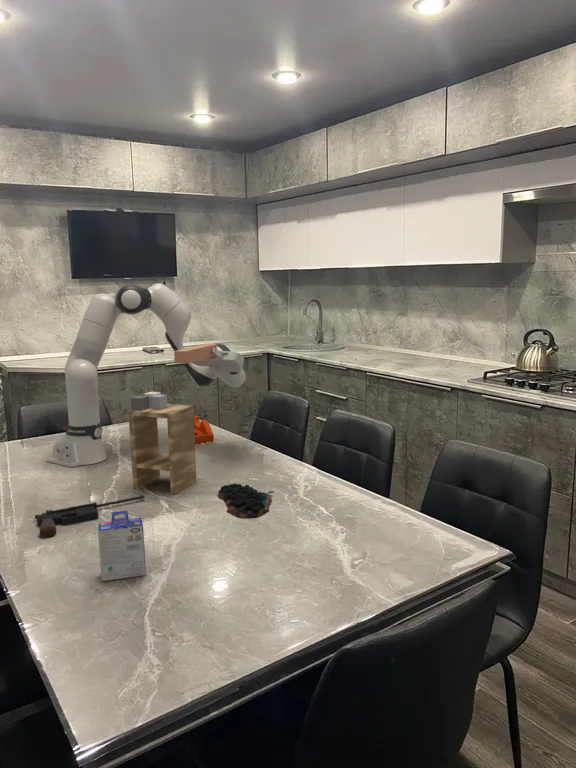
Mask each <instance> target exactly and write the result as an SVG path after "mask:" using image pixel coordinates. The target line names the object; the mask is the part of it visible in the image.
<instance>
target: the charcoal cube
mask: <svg viewBox="0 0 576 768" xmlns="http://www.w3.org/2000/svg"><path fill="white" fill-rule="evenodd" d="M130 404H131V405H130V406H131V407H130V408H131V410H137V411H143V410H146V409H149V396H144V395H136V396H132V397H130Z"/></svg>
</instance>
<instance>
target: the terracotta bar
mask: <svg viewBox="0 0 576 768" xmlns="http://www.w3.org/2000/svg"><path fill="white" fill-rule="evenodd" d="M217 344H218V343H216V344H215V343H204V344H200V345H195V346H191V347H186V348H185V349H181V350H177V351H174V350H173V354H174V357H173V358H174V364H182V365H184V364H186V363H190V362H194V361H198V360H201V359H205V358H209V357H213V356H216V355H214V354H211V353H210V351H211V348H215V349H216V350H217Z"/></svg>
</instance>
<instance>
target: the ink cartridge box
mask: <svg viewBox="0 0 576 768" xmlns="http://www.w3.org/2000/svg"><path fill="white" fill-rule="evenodd" d="M118 515H122V516H125V517H120V518H119V517H118V518H116V516H118ZM144 532H145V531H144V522H143V518H142V517H132V518H129V511H128V510H121V511H112V512H111V521H104V522H103V521H102V522H99V523H98V528H97V535H98V549H99V560H100V561H99V563H100V564H99V565H100V575H101V578H100V579H101V582H105V581H106V582H108V581H113V580H114V579H115V580H120V579H127V578H134V577H140V576H146V550H145V548H146V547H145V534H144ZM107 580H108V581H107Z"/></svg>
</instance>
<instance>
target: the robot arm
mask: <svg viewBox="0 0 576 768" xmlns="http://www.w3.org/2000/svg"><path fill="white" fill-rule="evenodd" d="M118 289H119V290H118V291H117V292H116V293H115V294H114V295H113V294H108V293H107V294H106V293H97V294H95V295H94V296H93V297H92V298H91V301H90V302H89V303H88V306H87V308H86V310H85V312H84V314H83V315H84V316H83V317H82V321H81V324H80V325H79V329H78V332H77V335H76V338H75V340H74V342H73V345H72V347H71V350H70V352H69V355H68V358H67V360H66V363H65V366H64V377H65V378H64V379H65V390H66V403H67V414H68V417H67V419H68V424H66V425H65V426H63V430H66V431H65V434H64V435H63V436H62V437H61V438H60V439H58V440H57V441H56V442H54V444H53V445H52V454H50V455H49V456H47V457H46V460H45V461H46V462H49V463H51V464H52V463H53V464H57V465H61V466H65V467H79V466H86V465H94V464H98V463H100V462H103V461H105V460H106V459H107V458H108V455H107V453H106V450H105V447H104V442H103V438H102V432H103V429H102V422H101V419H100V417H101V416H100V406H99V404H100V403H99V401H100V400H99V377H98V367H99V364H100V362H101V360H102V358H103V355H104V353H105V351H106V350H107V346H108V343H109V340H110V338H111V336H112V335H111V334H112V331H113V328H114V326H115V323H116V321H117V318H118V317H119V316H120V315H122V314H124V315H125V314H126V315H129V316H131V315H132V316H134V315H137V314H140V313H141V312H142V311H145V310H149V311H151V312H152V313H153V314H155V316H156V317H158V319H160V322H161V323H162V324H163V325H164V327H165V334H164V335H165V338H166V339H165V340H167V342H168V344H169V346H170V347H171V348H172V350H173V352H174V351H177V350H181V349H186V348H185V346H184V344H183V343H184V342H183V340H184V336H185V334H186V332H187V329H188V327H189V326H190V323H191V320H192V319H191V318H192V315H191V310H190V308H189V307H188V305H187V304H186V303H185V301H184V300H182V298H181V297H179V295H177V294H176V292H174V291H173V290H171V288H169V287H168V286H167V285H165V284H164V283H160V282H159V283H154V284H152V285H151V286H150V287H148V288H144V287H142V286H139V285H136V284H130V283H129V284H126V285H123V286H122V287H120V288H118ZM216 344H217V350H216V349H215V348H211V351H210V353H211V354H214V355H216V356H213V357H209V358H205V359H201V360H198V361H194V362H190V363H186V364H183V366H184V368H186V370H187V372H188V374H189V377H190V378H191V380H192V381H193V382H194V384H196V385H197V386H199V387H209V386H211V384H212V383H213V382H214V381H215V380H216V378H217V377H218V378H219V379H220V380H221V381H222V382H223V383H224V384H226V385H228V386H229V387H231V388H239V387H241V386H242V385H243V384H244V383H245V381H246V378H247V375H246V372H245V370H244V368H243V366H244V361H245V358H244V356H243V355H242V354H240V352H237V351H231V350H230V348H228V346H226V345H225V344H221V343H216Z"/></svg>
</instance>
